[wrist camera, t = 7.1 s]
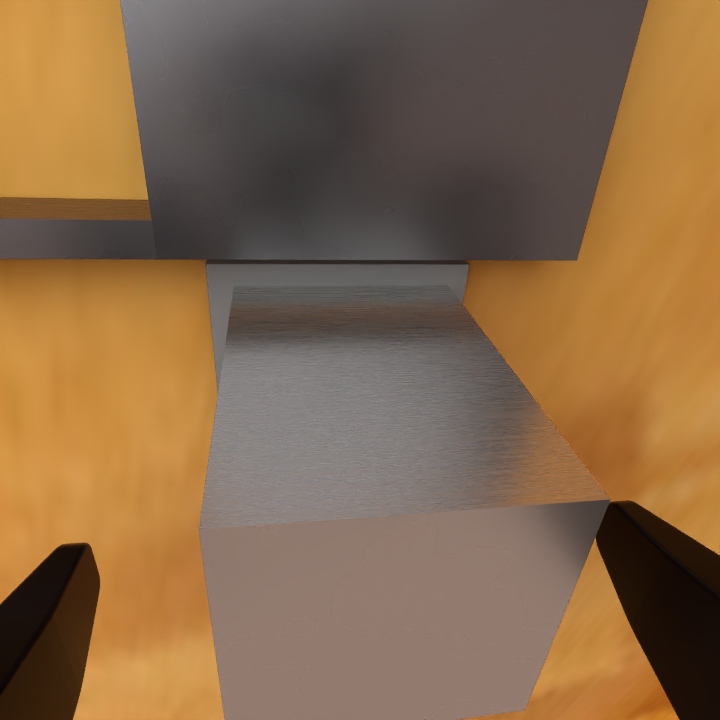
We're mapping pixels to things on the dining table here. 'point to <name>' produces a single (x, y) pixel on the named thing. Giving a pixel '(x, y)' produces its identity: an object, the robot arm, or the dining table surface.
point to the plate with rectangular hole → (355, 132)
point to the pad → (319, 281)
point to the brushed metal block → (383, 511)
